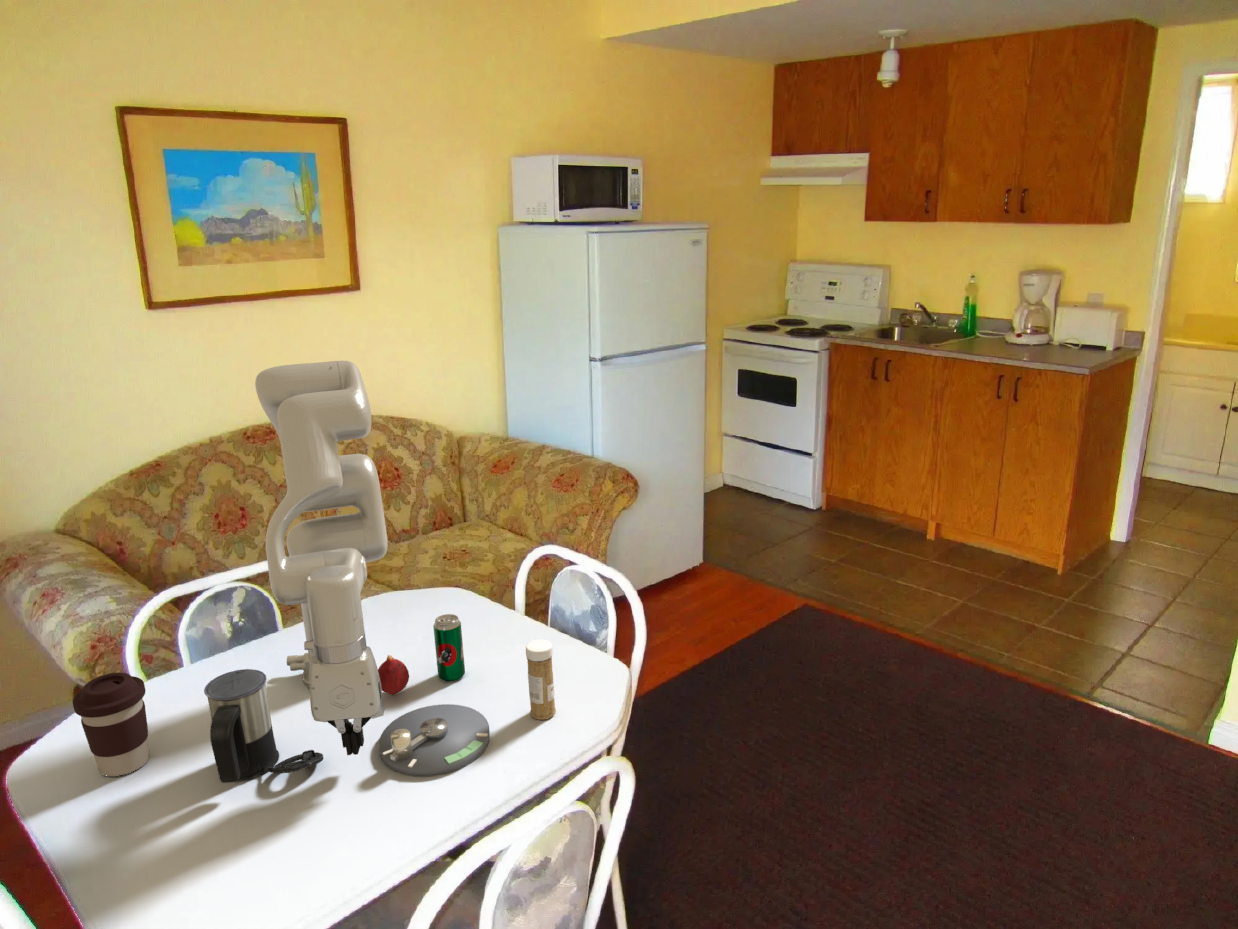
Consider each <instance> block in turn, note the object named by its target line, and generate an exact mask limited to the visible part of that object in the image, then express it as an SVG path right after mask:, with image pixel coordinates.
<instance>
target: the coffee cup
mask: <svg viewBox="0 0 1238 929" xmlns="http://www.w3.org/2000/svg"><path fill="white" fill-rule="evenodd" d="M145 686H146V685H145V681H143V679H142V678H140V677H139V676H134V675H133V676H132V675H130V674H129V673H125V672H111V673H105V674H103V675H100V676H96V677H94V678H93V679H91V680H89V681H88V682H87V683H86V684H84V685H83V687H82V689H81V690H80V691H79V692H77V693H76V695H75V696H74V697H73V699H72V707H73V710H74V713H75V714H76V715H78V716H80V717H81V719H80V722H81V725H82V730H83V732H84V735H85V738H86V741H87V744H88V747H89V750H90V752H91V754H92V755H93V756H94V759H95V763H96V766H97V770H98V771H99V773H100V774H101V773H102V774H104V775H107V776H106V777H108V776H118V777H120V776H119V775H123V774H126V775H128V774H127V773H129V774H131V772H132V773H134V772H136V771H138V770H140V769H141V768H142V767H144V765H145V764H147V762H148V761H149V758H150V748H149V740H148V737H149V727H148V721H147V713H146V712H147V710H146V705H145V701H144V699H143V698H144V696H145V695H146V687H145ZM147 760H148V761H147ZM140 767H141V768H140ZM137 769H138V770H137ZM135 770H136V771H135ZM133 771H134V772H133ZM102 774H101V775H102ZM104 775H103V776H104ZM123 776H124V775H123Z"/></svg>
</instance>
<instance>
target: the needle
mask: <svg viewBox="0 0 1238 929" xmlns="http://www.w3.org/2000/svg"><path fill="white" fill-rule="evenodd" d="M420 729H421V735H420V736H418V737H417V738H415V739H414V740H412V741H411V736H410V731H409V730H407V729H398V730H395V731H394V732H392V734H391V743H392V751H393V754H392V755H390V758H391V760H393V761H397V760H398V759H399V760H401V759H406V758H408V757H410V756H411V754H412V750H413V749H414V748H416V747H417V746H419V745H420V744H422V743H423V742H424V741H426V740H427V739H428V740H435V739H439V738H441V737H443V736H445V735H446V734H447V732H448V725H447V721H446V720H444V719H441V718H432V719H429V720H426V721H425V722H423V723H422V724H421V726H420Z"/></svg>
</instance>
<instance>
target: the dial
mask: <svg viewBox="0 0 1238 929" xmlns="http://www.w3.org/2000/svg"><path fill="white" fill-rule="evenodd" d="M432 718H441V719H444V720H446V721H447V725H448V732H447V734H446V735H445V736H443V737H441V738H439V739H435V740H428V739H427V740H426V741H424V742H423V743H422V744H420V745H419V746H417V747H416V748H414V749H413V750H412V754H411V756H410V757H408V758H406V759H401V760H399V759H398V760H397V761H393V760H391V758H390V755H392V754H393V751H392V743H391V734H392V732H394V731H395V730H398V729H407V730H409V731H410V736H411V741H412V740H414V739H415V738H417V737H418V736H420V735H421V729H420V726H421V724H422V723H423V722H425V721H426V720H429V719H432ZM489 724H490V723H489V722H488V719H487V718H486V717H485V716H484V715H483V714H482V713H481V712H480V711H478V710H476V709H473V708H472V707H469V706H465V705H459V704H453V703H452V704H451V703H450V704H449V703H448V704H434V705H433V704H432V705H428V706H424V707H419V708H417V709H414V710H411V711H408V712H406V713H404V714H402V715H401V716H398V717H397V718H395V719H394V720H393V721H391V722H390V723H388V725H387V726H386V727H385V728H384V729H383V731H382V733H381V734H380V736H379V742H378V747H379V756H380V759H381V761H382V762H383V764H384V765H385V766H386V767H387V768H389V769H390V770H392V771H393V772H395V773H398V774H401V775H405V776H410V777H421V778H422V777H434V776H435V777H436V776H440V775H445V774H449V773H453V772H456V771H458V770H461V769H463V768H465V767H467V766H468V765H470V764H472V763H473V762H474V761H476V760H477V759H478V758H479V757H481V756H482V755H483V753H484V752H485V751H486V749H487V748H488V746H489V743H490V738H491V733H490V732H491V731H490V725H489Z"/></svg>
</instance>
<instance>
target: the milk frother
mask: <svg viewBox="0 0 1238 929" xmlns="http://www.w3.org/2000/svg"><path fill="white" fill-rule="evenodd" d="M266 675H267V674H266V673H264V671H261V670H259V669H250V668H245V669H243V668H242V669H237V670H233V671H227V672H225V673H223V674H221V675H218V676H216V677H215V678H213V679H211V680H210V681H209V682H208V683H207V684H206V685H205V687H204V688H203V694H204V695H205V696H206V697H207V702H208V706H209V707H208V708H209V713H210V718H211V724H210V730H209V733H210V734H209V735H210V736H209V738H210V745H211V748H212V752H213V757H214V761H215V765H216V769H217V772H218V777H219V781H220V782H221V783H223V784H224V783H225V784H226V783H228V784H229V783H235V782H238V781H247V779H248V780H250V779H254V778H257V777H259V776H262V775H264V774H266V773H267V772H268V773H272V774H287V773H288V774H289V773H293V772H299V771H301V770H304V769H307V768H311V767H314V766H316V765H318V764H320V763H321V762H322V761H323V760H324V755H323V753H321V752H318V751H317V752H316V751H315V750H314V749H309V750H304V751H302V753H300V754H296V755H292V756H290V757H288V758H286V759H283V760H281V761H280V762H279V759H280V752H279V750H278V749H277V746H276V740H275V735H274V730H273V724H272V717H271V711H270V704H269V699H268V692H267V686H266V682H267V676H266ZM298 761H300V763H297V764H294V765H291V764H292V763H295V762H298ZM289 765H290V766H289Z"/></svg>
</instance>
